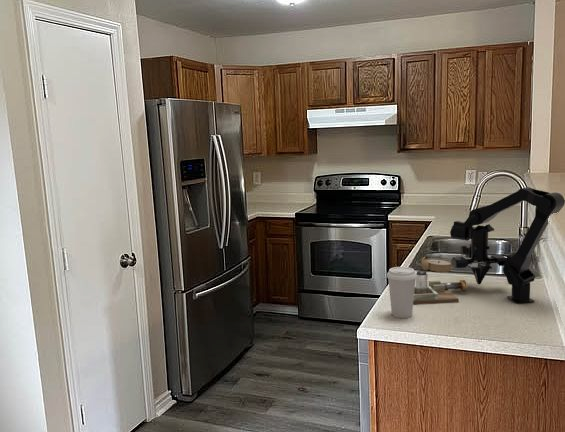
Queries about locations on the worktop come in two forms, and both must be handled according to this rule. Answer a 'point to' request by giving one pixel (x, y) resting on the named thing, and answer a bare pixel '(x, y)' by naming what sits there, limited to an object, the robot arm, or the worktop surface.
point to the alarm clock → (435, 264)
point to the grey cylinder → (421, 282)
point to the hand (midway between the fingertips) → (478, 284)
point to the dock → (435, 295)
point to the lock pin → (456, 285)
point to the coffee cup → (401, 291)
